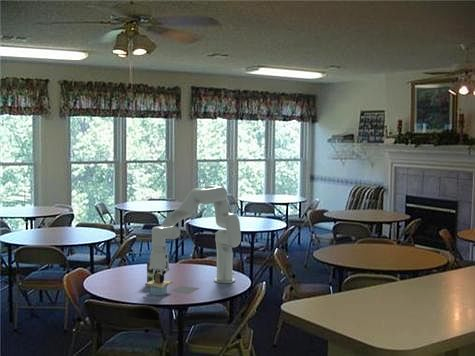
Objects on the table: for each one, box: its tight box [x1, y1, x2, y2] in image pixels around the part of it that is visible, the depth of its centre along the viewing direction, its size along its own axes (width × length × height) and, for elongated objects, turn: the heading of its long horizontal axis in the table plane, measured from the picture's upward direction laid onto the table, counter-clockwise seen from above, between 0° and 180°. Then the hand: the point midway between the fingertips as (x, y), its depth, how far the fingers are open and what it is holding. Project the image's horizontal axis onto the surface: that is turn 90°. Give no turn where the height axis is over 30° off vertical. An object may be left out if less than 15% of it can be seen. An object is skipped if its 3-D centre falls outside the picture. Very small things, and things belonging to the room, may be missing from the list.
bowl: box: [150, 285, 168, 296], centre depth 315 cm, size 9×9×4 cm
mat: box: [171, 285, 200, 295], centre depth 322 cm, size 12×12×1 cm
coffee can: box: [146, 259, 160, 283], centre depth 334 cm, size 10×10×14 cm
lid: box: [144, 273, 174, 288], centre depth 315 cm, size 11×11×6 cm
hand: (159, 281), depth 315 cm, fingers closed on lid, 3 cm apart
